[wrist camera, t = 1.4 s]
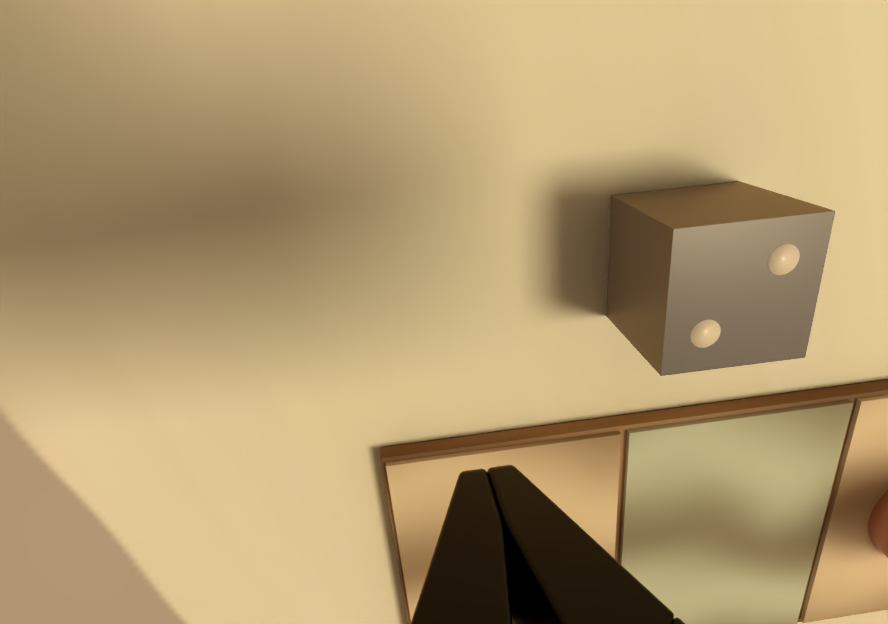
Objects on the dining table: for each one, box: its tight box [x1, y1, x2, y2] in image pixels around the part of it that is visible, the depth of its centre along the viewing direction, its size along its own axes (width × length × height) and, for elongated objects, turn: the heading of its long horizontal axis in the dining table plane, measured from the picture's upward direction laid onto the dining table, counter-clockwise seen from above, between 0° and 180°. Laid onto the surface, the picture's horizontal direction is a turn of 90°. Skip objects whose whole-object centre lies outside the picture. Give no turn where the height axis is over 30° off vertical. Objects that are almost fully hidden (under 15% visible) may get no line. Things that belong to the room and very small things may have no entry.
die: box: [606, 181, 835, 376], centre depth 16 cm, size 4×4×4 cm
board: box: [381, 380, 888, 624], centre depth 22 cm, size 12×26×1 cm, turn 95°
